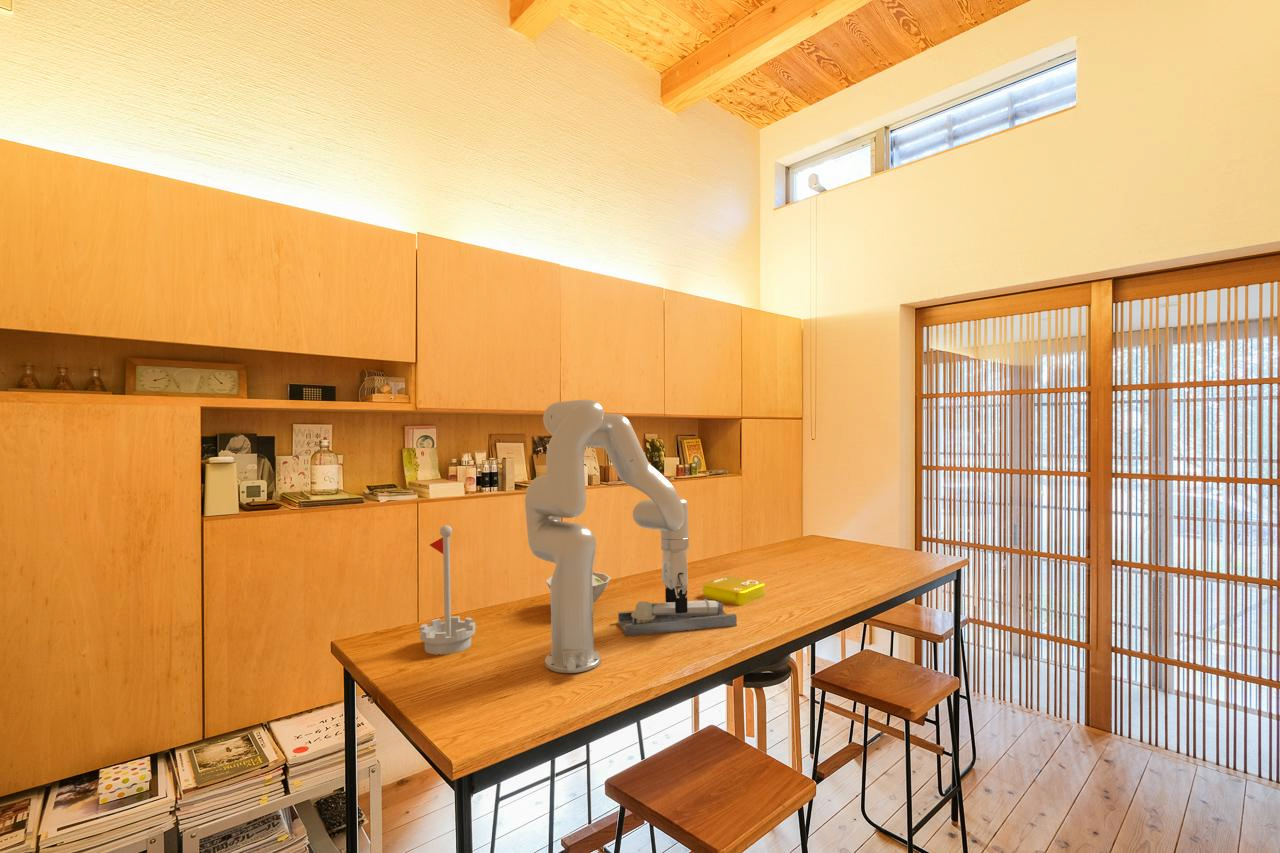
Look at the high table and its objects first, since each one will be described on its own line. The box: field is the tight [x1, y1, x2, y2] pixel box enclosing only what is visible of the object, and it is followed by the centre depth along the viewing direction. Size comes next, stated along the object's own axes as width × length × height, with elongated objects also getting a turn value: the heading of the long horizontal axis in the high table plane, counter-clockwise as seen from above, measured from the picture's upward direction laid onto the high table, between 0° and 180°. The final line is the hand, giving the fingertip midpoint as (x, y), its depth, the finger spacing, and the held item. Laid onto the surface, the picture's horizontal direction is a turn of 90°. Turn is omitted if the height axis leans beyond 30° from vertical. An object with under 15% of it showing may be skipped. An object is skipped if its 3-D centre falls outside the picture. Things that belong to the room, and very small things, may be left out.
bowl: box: [545, 571, 612, 604], centre depth 173 cm, size 19×19×10 cm
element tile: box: [702, 575, 766, 606], centre depth 184 cm, size 15×15×5 cm
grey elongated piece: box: [631, 598, 720, 623], centre depth 158 cm, size 5×7×25 cm
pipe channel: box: [617, 602, 738, 638], centre depth 158 cm, size 11×30×3 cm, turn 103°
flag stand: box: [419, 524, 476, 656], centre depth 145 cm, size 13×13×30 cm
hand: (676, 607), depth 158 cm, fingers open, 9 cm apart
